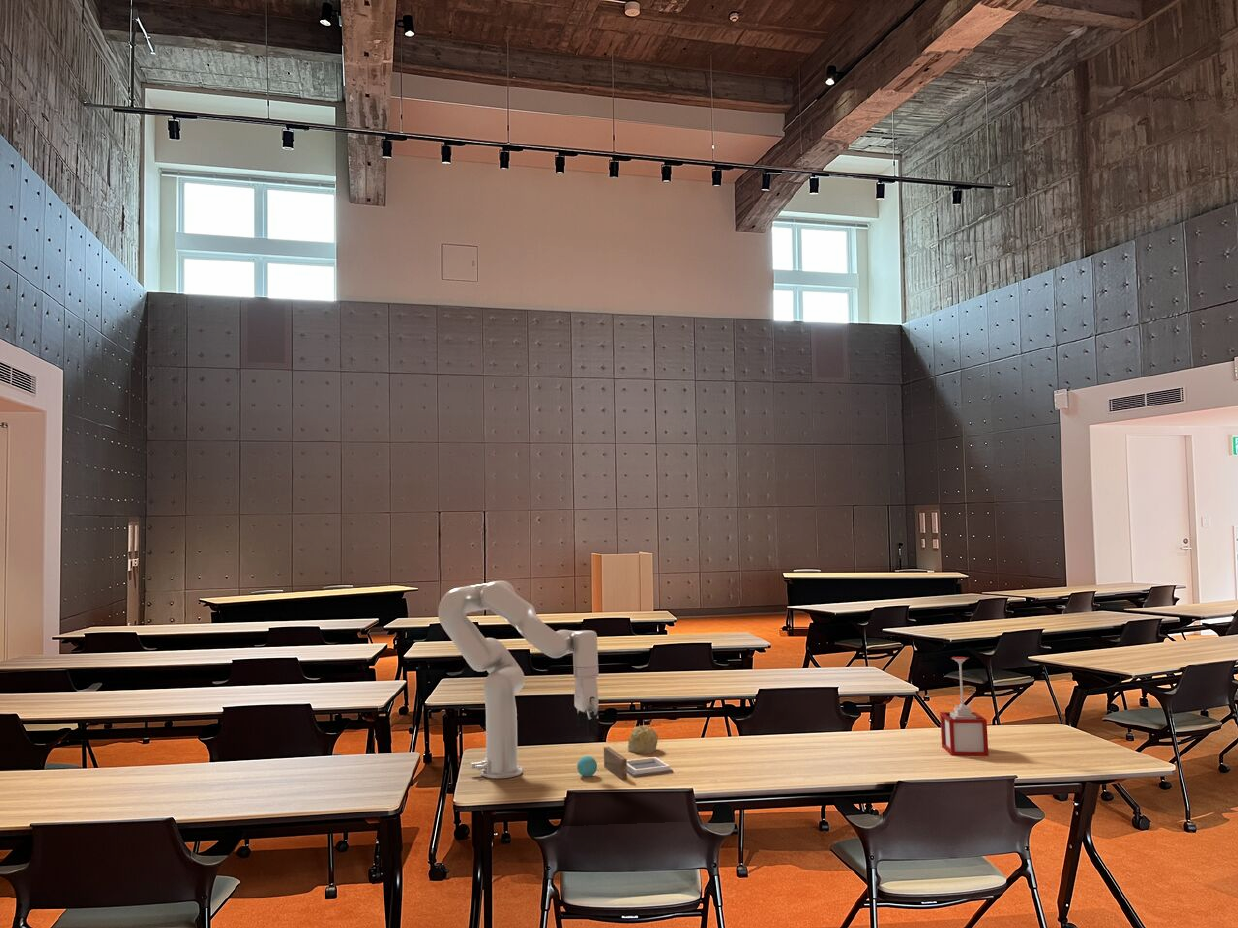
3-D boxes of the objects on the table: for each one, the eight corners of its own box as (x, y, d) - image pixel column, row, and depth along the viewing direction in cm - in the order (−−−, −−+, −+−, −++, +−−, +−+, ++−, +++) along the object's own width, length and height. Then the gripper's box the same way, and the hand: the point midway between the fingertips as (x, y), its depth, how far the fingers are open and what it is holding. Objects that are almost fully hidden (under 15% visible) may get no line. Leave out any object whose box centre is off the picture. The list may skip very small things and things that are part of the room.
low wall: (621, 780, 250) (621, 759, 251) (604, 766, 265) (603, 747, 266) (626, 779, 251) (626, 758, 251) (608, 766, 266) (608, 746, 266)
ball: (580, 780, 251) (580, 759, 252) (574, 775, 257) (574, 754, 257) (599, 777, 253) (599, 757, 254) (593, 772, 259) (593, 752, 259)
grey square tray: (633, 777, 253) (633, 770, 253) (618, 766, 265) (618, 760, 265) (673, 772, 258) (673, 766, 258) (656, 761, 270) (656, 756, 270)
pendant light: (977, 747, 281) (972, 655, 283) (988, 755, 269) (983, 660, 272) (942, 746, 282) (937, 655, 284) (951, 755, 271) (946, 660, 273)
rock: (649, 756, 290) (637, 729, 294) (668, 745, 283) (655, 716, 287) (628, 764, 283) (616, 736, 287) (647, 752, 276) (635, 723, 280)
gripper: (566, 669, 264) (567, 725, 263) (582, 676, 248) (585, 736, 247) (588, 667, 267) (590, 722, 265) (607, 674, 251) (609, 733, 249)
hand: (588, 729), depth 256 cm, fingers open, 9 cm apart
